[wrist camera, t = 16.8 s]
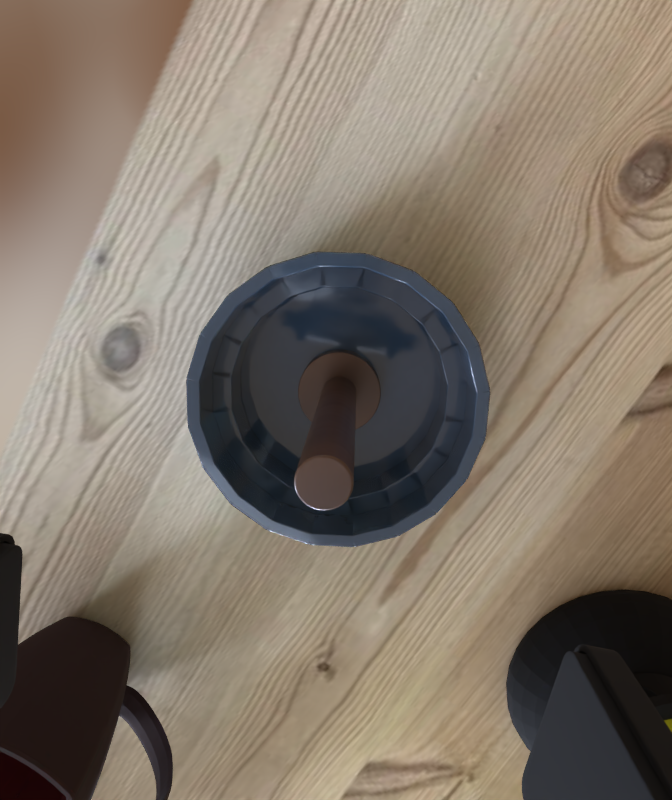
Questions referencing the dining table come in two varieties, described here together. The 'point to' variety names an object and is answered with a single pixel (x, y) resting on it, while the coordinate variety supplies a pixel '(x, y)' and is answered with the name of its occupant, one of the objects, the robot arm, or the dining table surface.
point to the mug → (72, 714)
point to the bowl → (288, 425)
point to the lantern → (600, 627)
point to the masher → (333, 424)
